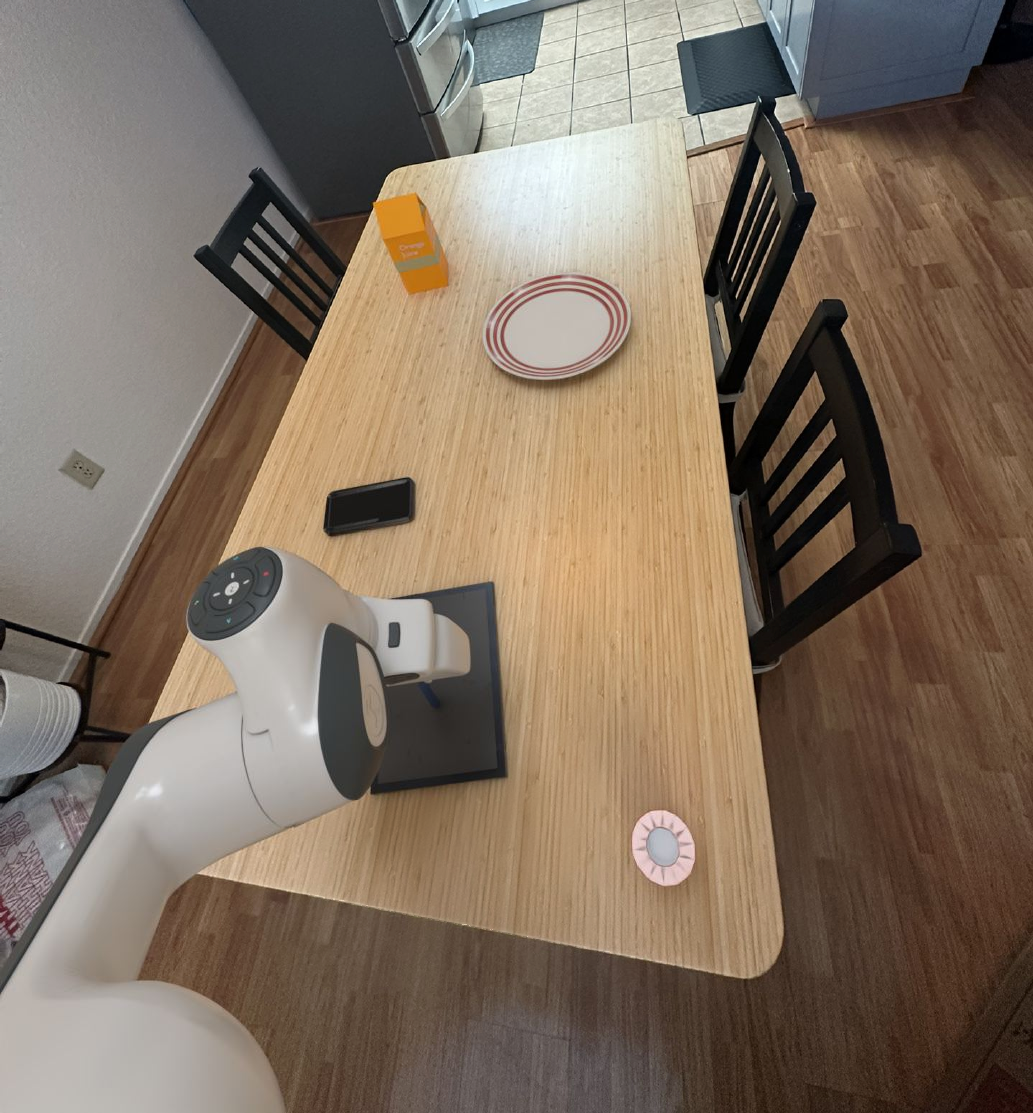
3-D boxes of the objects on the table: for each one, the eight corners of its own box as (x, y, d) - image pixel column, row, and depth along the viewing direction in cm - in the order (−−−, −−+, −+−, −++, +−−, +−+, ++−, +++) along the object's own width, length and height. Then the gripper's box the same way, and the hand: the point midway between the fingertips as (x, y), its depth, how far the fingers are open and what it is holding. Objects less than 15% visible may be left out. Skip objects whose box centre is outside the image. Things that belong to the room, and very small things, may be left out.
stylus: (439, 707, 74) (393, 636, 62) (431, 709, 74) (383, 637, 63) (440, 699, 75) (394, 627, 63) (431, 700, 75) (384, 628, 63)
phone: (327, 492, 97) (412, 475, 95) (330, 495, 98) (415, 479, 96) (322, 535, 92) (412, 518, 91) (325, 538, 93) (414, 522, 92)
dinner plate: (472, 309, 117) (468, 297, 114) (601, 265, 117) (600, 252, 114) (505, 411, 101) (500, 399, 98) (655, 360, 100) (655, 347, 98)
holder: (696, 874, 61) (703, 882, 50) (642, 879, 61) (637, 889, 51) (682, 810, 64) (686, 805, 54) (631, 816, 65) (624, 813, 54)
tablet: (508, 777, 69) (506, 776, 68) (373, 795, 71) (369, 794, 70) (494, 583, 83) (492, 580, 82) (381, 602, 85) (378, 599, 84)
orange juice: (410, 271, 128) (373, 191, 112) (448, 262, 127) (417, 180, 111) (408, 295, 124) (370, 215, 108) (448, 286, 123) (415, 204, 107)
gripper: (223, 702, 51) (301, 725, 62) (445, 668, 49) (485, 698, 60) (236, 630, 55) (308, 664, 66) (444, 595, 53) (482, 636, 64)
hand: (394, 680), depth 63 cm, fingers open, 6 cm apart
